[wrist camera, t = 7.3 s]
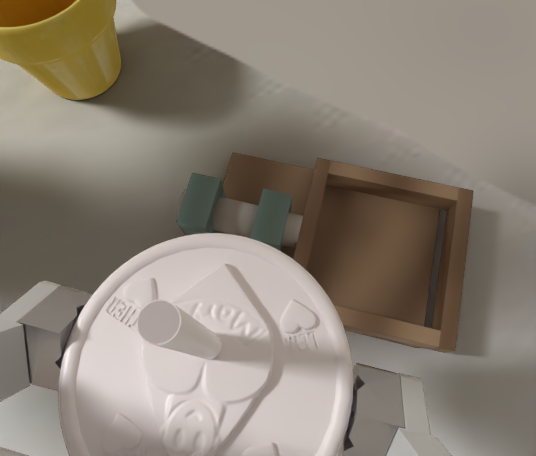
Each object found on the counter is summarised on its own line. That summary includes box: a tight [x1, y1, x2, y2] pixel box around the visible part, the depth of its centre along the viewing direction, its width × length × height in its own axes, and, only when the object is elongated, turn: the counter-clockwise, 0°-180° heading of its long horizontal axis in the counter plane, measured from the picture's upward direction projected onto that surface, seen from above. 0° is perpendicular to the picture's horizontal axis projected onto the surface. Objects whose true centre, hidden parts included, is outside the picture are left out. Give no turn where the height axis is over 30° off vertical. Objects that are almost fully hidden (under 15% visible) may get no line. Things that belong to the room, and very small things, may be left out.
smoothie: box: [58, 233, 353, 456], centre depth 12 cm, size 6×6×14 cm
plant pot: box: [0, 0, 121, 100], centre depth 34 cm, size 10×10×10 cm
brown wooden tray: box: [176, 153, 473, 352], centre depth 31 cm, size 20×11×4 cm, turn 76°
